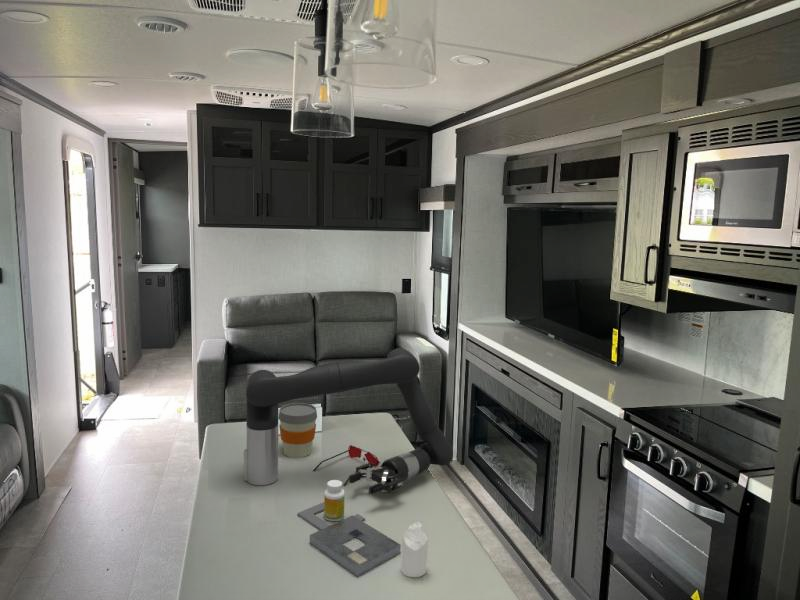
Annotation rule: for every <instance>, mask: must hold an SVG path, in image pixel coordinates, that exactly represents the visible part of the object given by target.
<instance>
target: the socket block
mask: <svg viewBox="0 0 800 600" xmlns="http://www.w3.org/2000/svg"><path fill="white" fill-rule="evenodd" d="M354 538H357V539H359V540H360V541H361V542H363V543H364V544H365V545H363V546H361V547H359V548H357V549H355V550H352V549H351V548H350V547H348V546H346V545H345V543H346V542H348V541H351V540H353V539H354ZM309 544H311V546H313V547H315V548H316V549H318V550H319V551H321V553H323V554H324V555H325V556H327V557H329V558H330V559H332V560H333V561H334V562H336V563H337V564H338V565H340V566H341V567H342V568H344V569H345V570H347V571H348V572H350V573H351V574H353V575H354V576H356V577H357V578H358V577H360V576H362V575H363V574H365V573H367V572H369V571H371V570H372V569H374V568H376V567H377V566H380V565H381V564H383V563H385V562H386V561H389V560H391V559H392V558H394V557H396V556H397V555H399V554H401V550H402V549H401V548H402V544H400V543H399V542H398V541H395V540H393V539H392V538H390V537H388V536H387V535H385V534H384V533H382V532H381V531H379V530H378V529H376V528H374V527H372V526H370V525H369V524H368V523H366V522H365V521H361V520H359V519H358V518H356V517H354V515H350V516H348V517H346V518H344V519H343V518H342V519H341V520H339V521H336V522H335V523H332V524H330V526H328V527H326V528H324V529H322V530H319V529H318V531H316V532H313V533H311V534H309Z"/></svg>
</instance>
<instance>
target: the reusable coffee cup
mask: <svg viewBox="0 0 800 600" xmlns="http://www.w3.org/2000/svg"><path fill="white" fill-rule="evenodd" d="M317 411H318V410H317V407H316V406H314V405H313V404H309V403H304V402H293V403H288V404H285V405H282V406H281V407H279V409H278V421H279V425H278V428H279V434H280V440H281V442H282V446H283V454H284V455H285V456H286V457H288V458H297V459H298V458H300V459H301V458H304V457H307V455H308V456H309V455H310V454H311V453H312V448H313V441H314V439H315V435H316V428H317V424H316V420H317V418H318V413H317Z"/></svg>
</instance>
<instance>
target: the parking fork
mask: <svg viewBox="0 0 800 600" xmlns="http://www.w3.org/2000/svg"><path fill="white" fill-rule="evenodd" d="M322 512H323V513H324V501H323V502H320V503H318V504H316V505H313V506H310V507H309V508H306V509H304V510H302V511H299V512H297V513H296V515H297V516H298V517H300V518H301V519H302V520H304V521H306V523H308V524H310V525H311V526H313V527H314V528H316V529H317V530H318V531H319V530H322V529H324V528H326V527H328V526H330V525H331V524H330V523H328V522H327V521H325V520H324V519H322V518H321V517H319V516H318V514H321V513H322ZM353 516H354V517H356V518H358V519H359V520H361V521H363V522H365V521H366V518H365V517H364V516H362V515H360V514H358V513H356V514H354V515H353Z"/></svg>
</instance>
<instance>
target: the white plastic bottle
mask: <svg viewBox="0 0 800 600" xmlns="http://www.w3.org/2000/svg"><path fill="white" fill-rule="evenodd" d="M401 540H402V541H401V548H402V549H401V566H400V570H401V573H402V574H403V575H404V576H406V577H409V578H420V577H422V576H424V575H426V572H427V567H428V566H427V565H428V563H427V562H428V547H429V543H428V541H429V539H428V537H427V535H426V533H425V532H424V529H423V525H422V524H421V522H418V521H415V522H412V523H411V524H410V525H409V527H408V529H406V531H405V533H403V535H402V539H401Z"/></svg>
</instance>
